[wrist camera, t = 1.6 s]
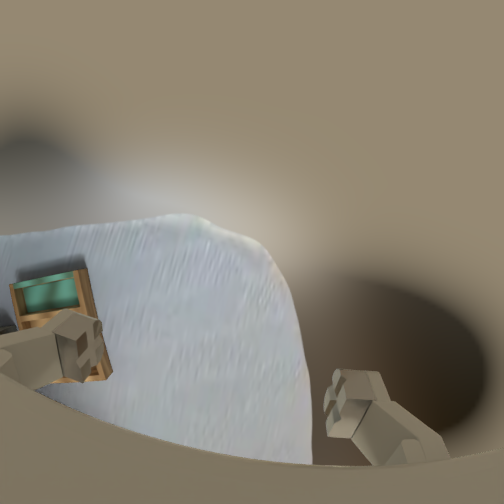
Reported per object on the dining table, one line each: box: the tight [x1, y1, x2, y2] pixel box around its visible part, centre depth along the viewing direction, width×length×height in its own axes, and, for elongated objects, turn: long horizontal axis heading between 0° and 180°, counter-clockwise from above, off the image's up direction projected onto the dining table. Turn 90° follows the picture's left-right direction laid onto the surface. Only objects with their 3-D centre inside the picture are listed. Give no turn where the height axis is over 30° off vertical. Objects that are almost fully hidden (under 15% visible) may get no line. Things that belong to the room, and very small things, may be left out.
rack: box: [9, 269, 113, 383], centre depth 48 cm, size 16×19×4 cm
